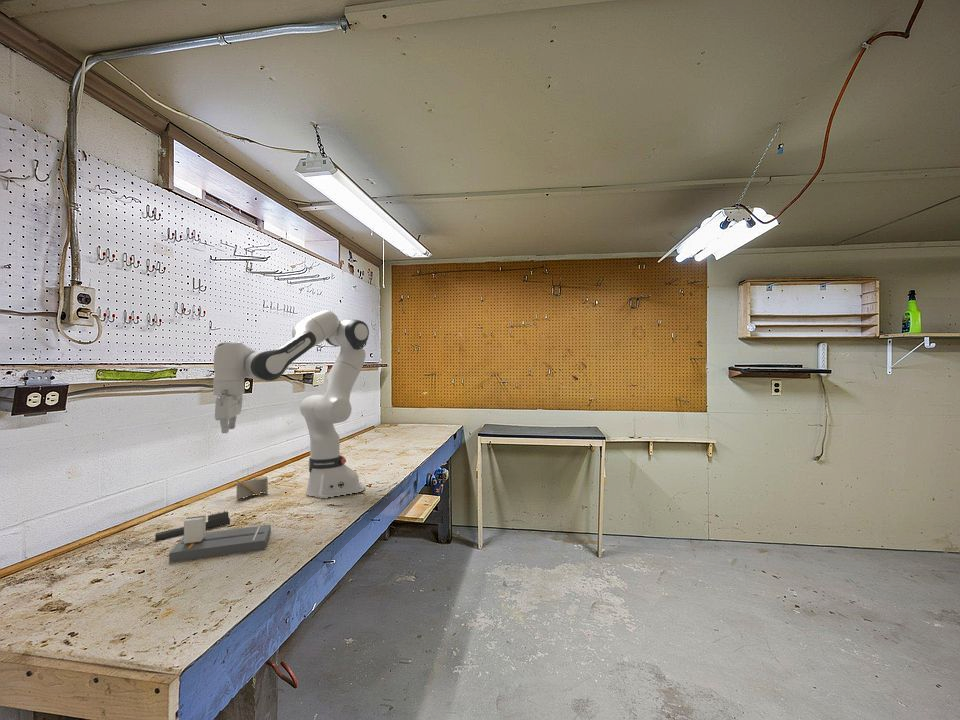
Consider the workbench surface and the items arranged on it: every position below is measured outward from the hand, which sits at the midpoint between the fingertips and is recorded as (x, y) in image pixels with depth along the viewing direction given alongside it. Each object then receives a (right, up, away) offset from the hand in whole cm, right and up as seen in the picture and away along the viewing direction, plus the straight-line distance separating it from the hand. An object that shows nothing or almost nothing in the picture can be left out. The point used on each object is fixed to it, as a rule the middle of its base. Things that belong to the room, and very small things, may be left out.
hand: (228, 430), depth 136 cm
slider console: (+12, -29, -22) cm, 38 cm away
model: (-5, -30, +23) cm, 38 cm away
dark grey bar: (-4, -30, -11) cm, 32 cm away
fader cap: (+5, -26, -24) cm, 36 cm away
